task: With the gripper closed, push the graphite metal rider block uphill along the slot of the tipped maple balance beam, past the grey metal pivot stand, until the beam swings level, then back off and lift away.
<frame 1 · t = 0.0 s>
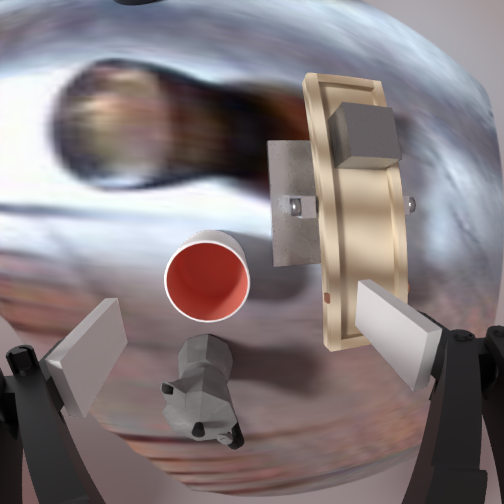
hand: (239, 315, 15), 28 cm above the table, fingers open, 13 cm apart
stand: (329, 201, 42), on the table
rider: (354, 144, 31), point 10 cm above the table, tilted 10°, touching beam
beam: (360, 204, 32), point 11 cm above the table, hinge at -10.5°, touching rider
coffeepot: (210, 360, 46), on the table
cup: (211, 262, 43), on the table
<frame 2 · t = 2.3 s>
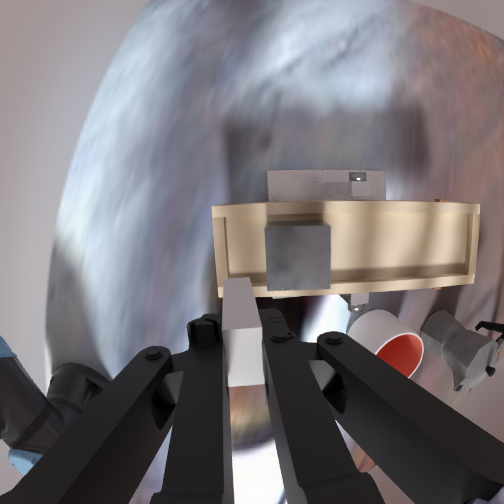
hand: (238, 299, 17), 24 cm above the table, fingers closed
stand: (329, 231, 42), on the table
rider: (295, 248, 31), point 10 cm above the table, tilted 10°, touching beam
beam: (360, 245, 31), point 11 cm above the table, hinge at -10.5°, touching rider
coffeepot: (439, 326, 48), on the table
cup: (369, 333, 46), on the table
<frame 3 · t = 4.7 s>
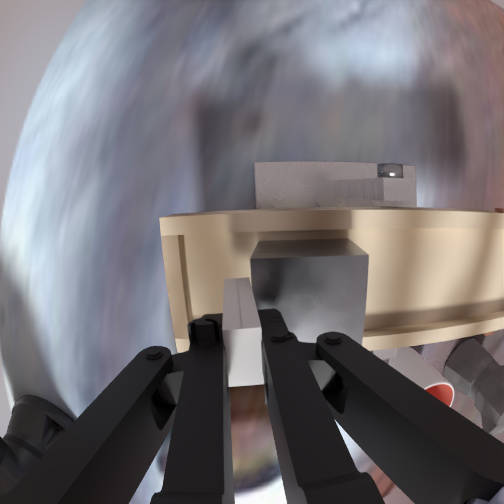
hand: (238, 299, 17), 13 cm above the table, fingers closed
stand: (342, 248, 30), on the table
rider: (304, 283, 20), point 10 cm above the table, tilted 10°, touching beam, gripper
beam: (392, 277, 19), point 11 cm above the table, hinge at -10.5°, touching rider
coffeepot: (465, 356, 36), on the table
cup: (385, 372, 35), on the table
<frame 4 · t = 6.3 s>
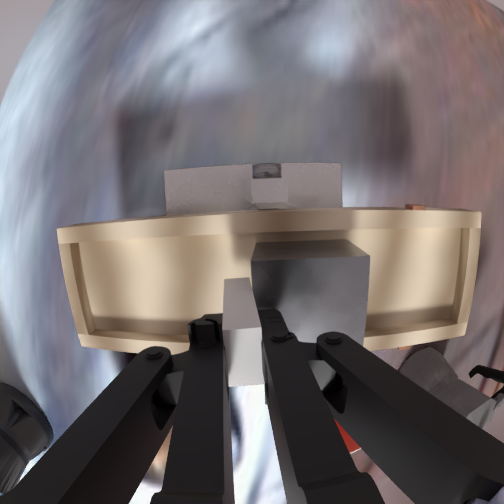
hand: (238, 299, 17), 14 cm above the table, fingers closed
stand: (257, 251, 31), on the table
rider: (302, 284, 20), point 12 cm above the table, tilted 8°, touching gripper
beam: (271, 283, 20), point 11 cm above the table, hinge at -8.2°
coffeepot: (422, 366, 37), on the table
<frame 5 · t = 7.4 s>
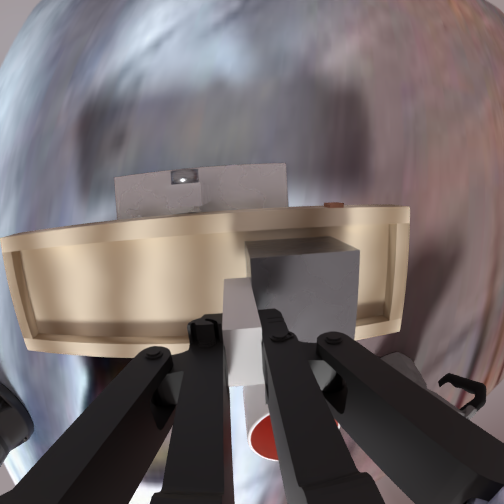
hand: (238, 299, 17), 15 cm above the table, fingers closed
stand: (203, 252, 31), on the table
rider: (289, 280, 21), point 11 cm above the table
beam: (191, 284, 21), point 11 cm above the table, hinge at 0.2°
coffeepot: (391, 372, 37), on the table
cup: (280, 381, 36), on the table
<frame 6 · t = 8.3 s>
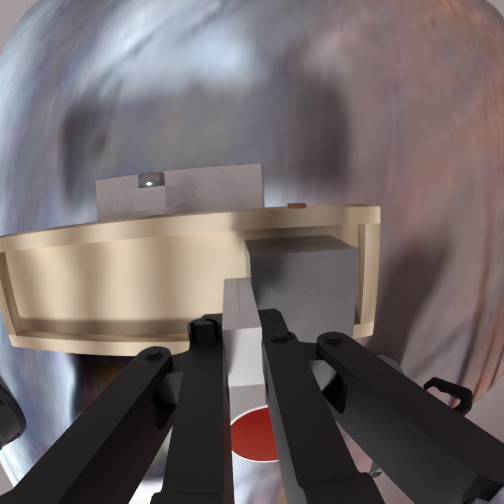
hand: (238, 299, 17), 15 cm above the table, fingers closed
stand: (181, 253, 31), on the table
rider: (288, 278, 21), point 11 cm above the table, touching beam, gripper
beam: (158, 285, 21), point 11 cm above the table, hinge at 0.2°, touching rider
coffeepot: (376, 374, 37), on the table
cup: (261, 382, 36), on the table
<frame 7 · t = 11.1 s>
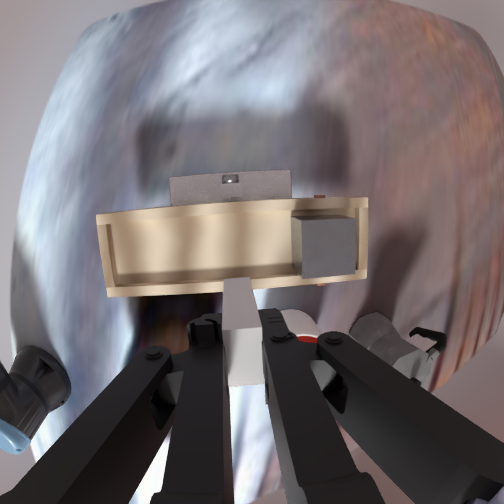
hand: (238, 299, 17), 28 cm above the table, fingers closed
stand: (233, 231, 45), on the table
rider: (315, 240, 34), point 11 cm above the table, touching beam
beam: (234, 244, 34), point 11 cm above the table, hinge at 0.2°, touching rider
coffeepot: (373, 329, 51), on the table
cup: (286, 332, 49), on the table
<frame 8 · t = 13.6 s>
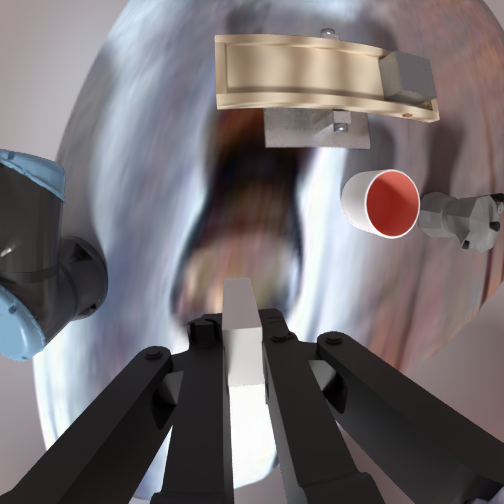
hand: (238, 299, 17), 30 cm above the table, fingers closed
stand: (315, 97, 43), on the table
rider: (398, 83, 33), point 11 cm above the table, touching beam
beam: (337, 75, 33), point 11 cm above the table, hinge at 0.2°, touching rider
coffeepot: (435, 211, 49), on the table
cup: (364, 200, 48), on the table
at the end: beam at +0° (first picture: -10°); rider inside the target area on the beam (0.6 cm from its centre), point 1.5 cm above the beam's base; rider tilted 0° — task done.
